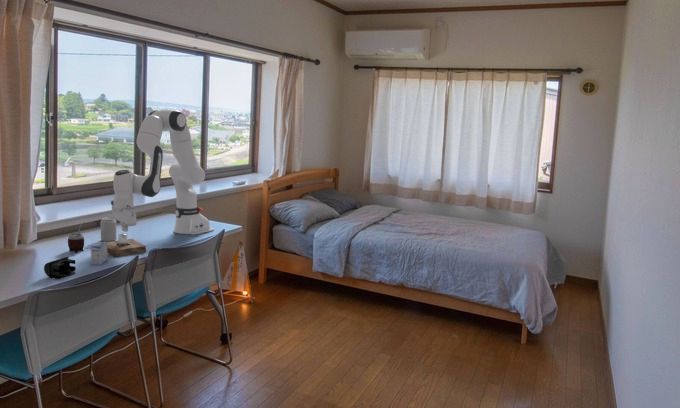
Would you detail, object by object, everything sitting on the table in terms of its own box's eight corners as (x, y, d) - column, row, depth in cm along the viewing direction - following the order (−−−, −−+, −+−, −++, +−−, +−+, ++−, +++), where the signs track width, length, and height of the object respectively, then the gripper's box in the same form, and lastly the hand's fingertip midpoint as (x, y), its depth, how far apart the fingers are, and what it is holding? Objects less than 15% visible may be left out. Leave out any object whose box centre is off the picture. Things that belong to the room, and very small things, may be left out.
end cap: (63, 270, 226) (62, 255, 225) (76, 273, 224) (76, 257, 223) (43, 277, 217) (43, 261, 216) (57, 280, 215) (57, 264, 214)
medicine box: (97, 259, 244) (97, 241, 242) (107, 260, 244) (107, 241, 243) (91, 264, 236) (90, 246, 234) (101, 265, 236) (101, 246, 235)
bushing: (125, 248, 263) (125, 233, 262) (128, 250, 260) (128, 234, 259) (117, 250, 260) (117, 234, 259) (120, 251, 257) (120, 236, 256)
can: (110, 243, 271) (110, 220, 269) (97, 241, 273) (97, 218, 270) (119, 239, 279) (119, 217, 276) (106, 238, 280) (106, 216, 278)
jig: (132, 244, 271) (132, 238, 271) (146, 251, 260) (146, 245, 260) (100, 248, 260) (100, 243, 260) (113, 256, 249) (112, 250, 249)
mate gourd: (69, 249, 257) (67, 219, 254) (86, 248, 260) (86, 218, 257) (67, 253, 250) (66, 222, 247) (85, 252, 253) (84, 222, 250)
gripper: (139, 206, 253) (140, 234, 255) (121, 199, 267) (122, 225, 270) (126, 208, 248) (127, 236, 251) (109, 200, 262) (110, 227, 265)
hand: (125, 231), depth 260 cm, fingers closed
